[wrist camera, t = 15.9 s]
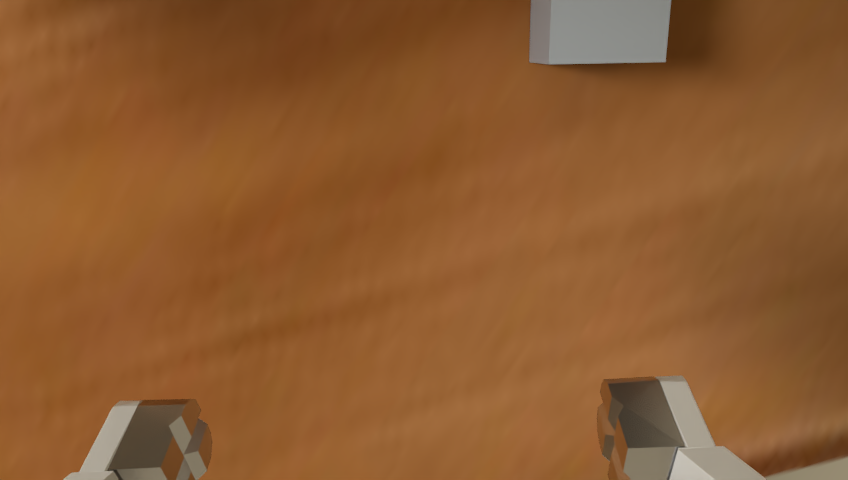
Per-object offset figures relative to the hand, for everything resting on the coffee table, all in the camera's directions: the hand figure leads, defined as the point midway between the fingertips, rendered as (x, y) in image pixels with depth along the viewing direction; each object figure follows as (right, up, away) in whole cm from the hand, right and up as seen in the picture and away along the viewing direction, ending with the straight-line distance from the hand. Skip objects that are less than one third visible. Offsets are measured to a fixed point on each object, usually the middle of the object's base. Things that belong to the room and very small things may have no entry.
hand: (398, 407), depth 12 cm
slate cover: (+10, +17, +25) cm, 32 cm away
